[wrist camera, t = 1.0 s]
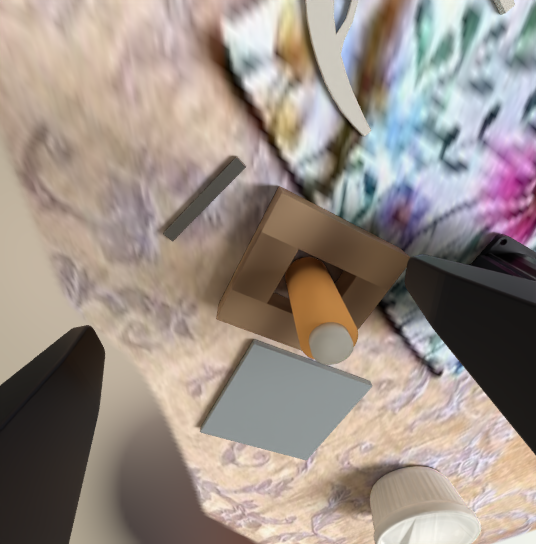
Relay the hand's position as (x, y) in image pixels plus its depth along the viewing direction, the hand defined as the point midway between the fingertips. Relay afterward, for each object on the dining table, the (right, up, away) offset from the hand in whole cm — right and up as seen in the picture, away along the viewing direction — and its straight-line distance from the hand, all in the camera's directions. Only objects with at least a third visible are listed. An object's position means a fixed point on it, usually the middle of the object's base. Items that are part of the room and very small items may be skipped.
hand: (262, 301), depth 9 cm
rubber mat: (+2, -12, +21) cm, 24 cm away
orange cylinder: (+3, +1, +14) cm, 15 cm away
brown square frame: (+3, +1, +14) cm, 15 cm away
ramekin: (+17, -25, +29) cm, 42 cm away
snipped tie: (-4, +6, +11) cm, 13 cm away
